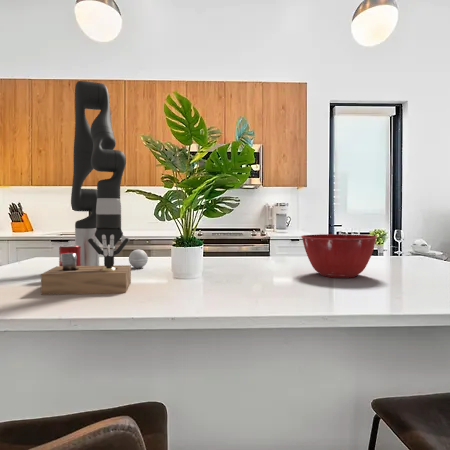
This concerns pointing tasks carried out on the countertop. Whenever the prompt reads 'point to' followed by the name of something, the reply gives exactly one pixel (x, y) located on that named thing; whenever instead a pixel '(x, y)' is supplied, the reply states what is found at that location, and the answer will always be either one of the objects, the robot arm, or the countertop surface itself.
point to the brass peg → (109, 268)
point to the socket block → (86, 280)
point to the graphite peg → (69, 261)
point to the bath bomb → (138, 258)
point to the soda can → (70, 249)
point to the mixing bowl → (339, 253)
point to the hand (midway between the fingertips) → (109, 267)
